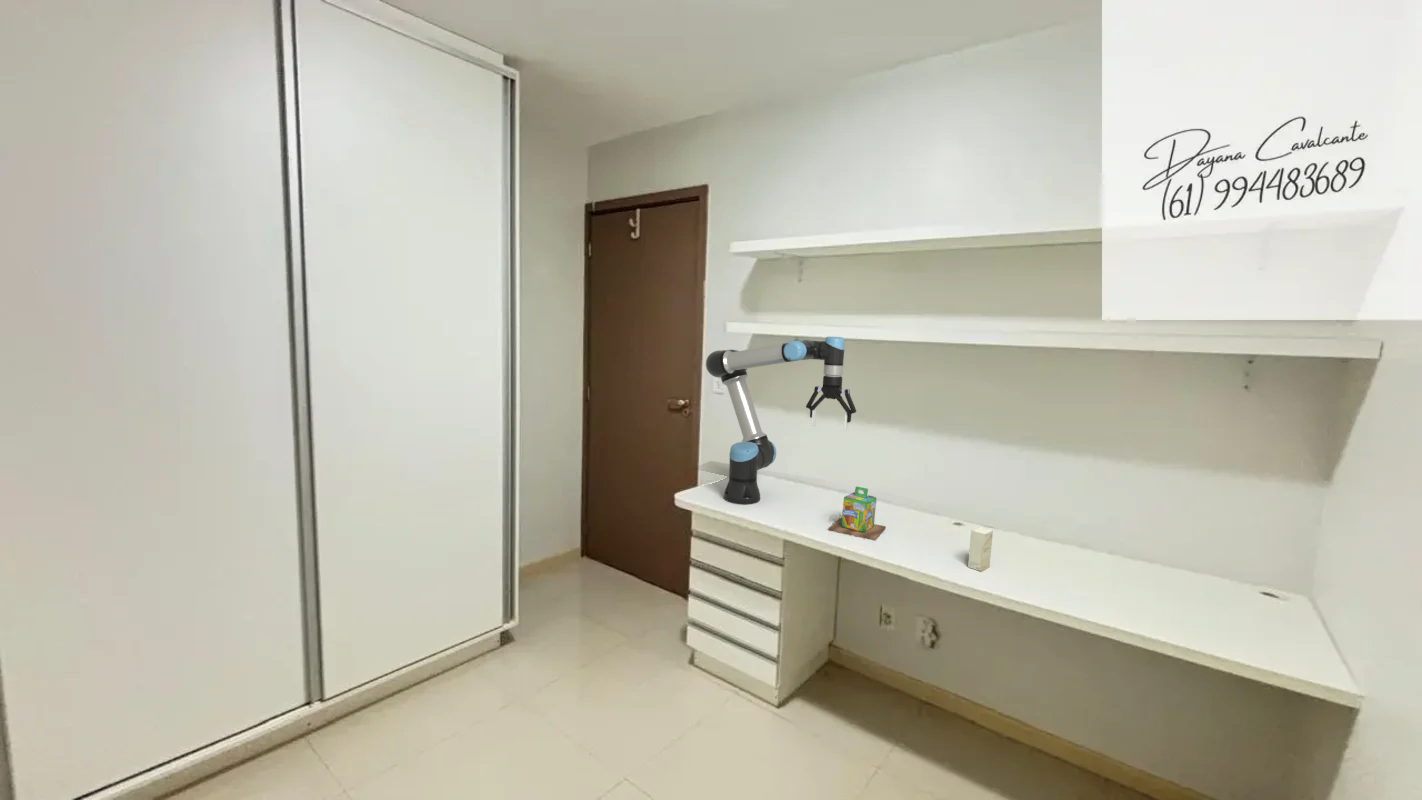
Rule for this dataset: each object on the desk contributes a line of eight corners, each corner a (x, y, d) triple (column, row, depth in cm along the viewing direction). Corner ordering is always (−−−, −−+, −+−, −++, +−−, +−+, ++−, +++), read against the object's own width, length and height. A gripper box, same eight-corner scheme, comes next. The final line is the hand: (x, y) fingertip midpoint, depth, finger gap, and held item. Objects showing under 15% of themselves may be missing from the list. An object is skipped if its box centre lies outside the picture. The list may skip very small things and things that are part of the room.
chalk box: (840, 527, 214) (843, 488, 212) (851, 521, 221) (854, 483, 219) (864, 533, 208) (867, 493, 206) (874, 527, 215) (877, 488, 213)
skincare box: (981, 572, 181) (984, 534, 180) (966, 567, 185) (970, 530, 183) (990, 566, 185) (993, 530, 184) (976, 562, 189) (979, 526, 187)
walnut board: (828, 530, 213) (828, 527, 213) (840, 519, 225) (840, 517, 225) (875, 540, 204) (875, 537, 204) (885, 528, 216) (885, 526, 216)
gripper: (866, 377, 231) (862, 430, 234) (806, 372, 243) (803, 422, 246) (861, 378, 224) (857, 433, 227) (800, 373, 237) (797, 425, 240)
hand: (829, 428), depth 237 cm, fingers open, 13 cm apart
